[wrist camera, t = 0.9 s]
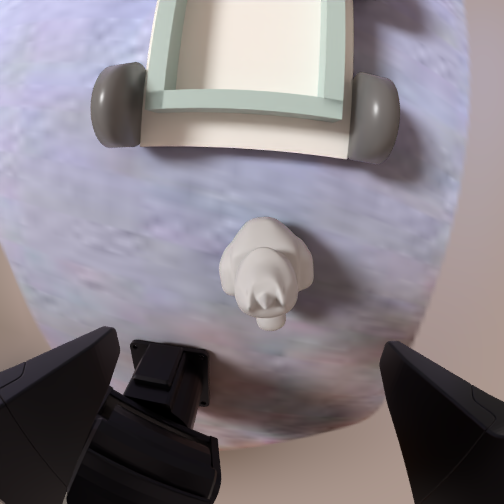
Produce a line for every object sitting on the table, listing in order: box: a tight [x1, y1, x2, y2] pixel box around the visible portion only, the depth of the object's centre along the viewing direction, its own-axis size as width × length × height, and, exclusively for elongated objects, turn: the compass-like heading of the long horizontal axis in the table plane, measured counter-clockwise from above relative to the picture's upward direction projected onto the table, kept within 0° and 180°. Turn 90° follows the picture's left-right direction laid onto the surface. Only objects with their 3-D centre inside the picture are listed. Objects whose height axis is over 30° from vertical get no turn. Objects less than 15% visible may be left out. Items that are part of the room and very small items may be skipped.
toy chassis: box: [91, 0, 400, 164], centre depth 12 cm, size 16×15×5 cm
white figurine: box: [219, 217, 314, 331], centre depth 16 cm, size 5×7×8 cm
